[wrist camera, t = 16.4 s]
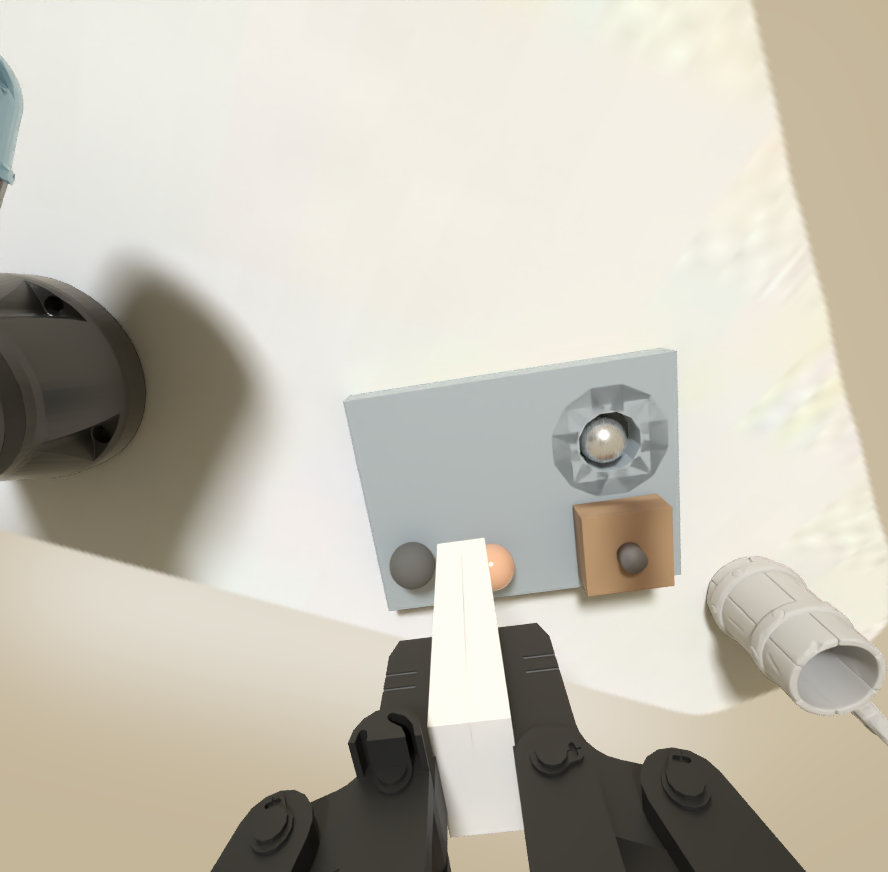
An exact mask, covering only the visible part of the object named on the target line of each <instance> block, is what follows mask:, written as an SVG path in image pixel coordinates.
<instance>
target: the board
mask: <svg viewBox="0 0 888 872" xmlns="http://www.w3.org/2000/svg"><path fill="white" fill-rule="evenodd" d="M343 403H344V407H345V412H346V417H347V421H348V426H349V430H350V435H351V439H352V444H353V449H354V453H355V458H356V462H357V467H358V472H359V476H360V481H361V485H362V490H363V494H364V499H365V504H366V508H367V513H368V517H369V522H370V527H371V531H372V536H373V540H374V545H375V549H376V554H377V559H378V563H379V568H380V572H381V577H382V582H383V586H384V591H385V595H386V600H387V604H388V609H389V611H394V610H402V609H410V608H418V607H426V606H434V596H435V578H436V560H437V544H441V543H449V542H456V541H464V540H471V539H479V538H484V539H485V544H488V543H495V544H499V545H501V546H503V547H505V548H506V549H507V550H508V551H509V552H510V554H511V555H512V557H513V559H514V563H515V573H514V576H513V578H512V580H511V582H510V583H509V584H508V585H507V586H506V587H504V588H502V589H500V590H496V591H492V593H493V598H497V597H505V596H513V595H521V594H529V593H537V592H545V591H553V590H561V589H569V588H577V587H583V585H582V583H581V581H580V579H579V573H578V562H577V550H576V539H575V527H574V516H573V505H576V504H584V503H591V502H598V501H606V500H613V499H620V498H628V497H635V496H642V495H650V494H658V495H659V496H661V497H662V498H663V499H664V500H665V501H666V502H667V503H668V504H669V505H671V506H672V507H673V546H674V575H680V574H681V549H680V496H679V443H678V391H677V351H674V350H669V349H664V348H657V349H651V350H644V351H638V352H631V353H625V354H618V355H612V356H605V357H598V358H592V359H585V360H579V361H572V362H566V363H559V364H553V365H546V366H540V367H533V368H526V369H520V370H513V371H507V372H500V373H494V374H487V375H481V376H474V377H468V378H461V379H454V380H448V381H441V382H435V383H428V384H422V385H415V386H409V387H402V388H396V389H389V390H382V391H376V392H369V393H363V394H356V395H350V396H349V397H348V398H347V399H346V400H345V401H343ZM611 412H618V413H621V414H622V415H623V416H624V418H625V419H626V420H627V422H628V438H627V445H626V448H625V450H624V452H623V453H622V455H621V456H620V457H618V458H617V459H616V460H614V461H611V462H608V463H598V462H594V461H592V460H590V459H587V458H585V457H582V456H581V455H580V446H579V438H580V436H581V434H582V432H583V429H584V427H585V425H586V424H587V423H588V422H590V421H591V420H593V419H594V418H595V417H597V416H598V415H599V414H605V413H611ZM408 542H418V543H421V544H423V545H425V546H426V547H427V548H428V549H429V550H430V551H431V552H432V554H433V556H434V560H435V571H434V574H433V576H432V578H431V580H430V581H429V582H428V583H427V584H426V585H424V586H423V587H421V588H418V589H406V588H403V587H401V586H399V585H398V584H397V583H396V582H395V581H394V580H393V578H392V576H391V574H390V568H389V564H390V559H391V556H392V554H393V553H394V551H395V550H396V549H397V548H398V547H399V546H401V545H402V544H405V543H408Z"/></svg>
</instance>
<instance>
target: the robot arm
mask: <svg viewBox="0 0 888 872" xmlns="http://www.w3.org/2000/svg"><path fill="white" fill-rule="evenodd" d="M22 113H23V95H22V91H21V88H20V85H19V82H18V80H17V78H16V76H15V74H14V73H13V71H12V69H11V68H10V66H9V65H8V63H7V62H6V61H5V59H4V58H3V57H2V56H1V55H0V208H1V204H2V201H3V198H4V195H5V192H6V188H7V185H8V184H11V185H12V184H13V182H14V179H15V174H14V173H13V172H12V170H11V168H12V162H13V157H14V151H15V146H16V141H17V135H18V130H19V126H20V122H21V117H22ZM144 407H145V382H144V376H143V371H142V367H141V364H140V361H139V358H138V356H137V353H136V351H135V349H134V347H133V345H132V343H131V341H130V339H129V338H128V336H127V334H126V333H125V332H124V330H123V329H122V327H121V326H120V325H119V323H118V322H117V321H116V320H115V319H114V318H113V316H112V315H111V314H110V313H109V312H108V311H107V310H106V309H105V308H103V307H102V306H101V305H100V304H99V303H98V302H96V301H95V300H94V299H92V298H91V297H90V296H88V295H87V294H85V293H83V292H82V291H80V290H78V289H76V288H74V287H72V286H70V285H68V284H66V283H63V282H61V281H58V280H55V279H51V278H48V277H43V276H37V275H26V274H13V273H0V481H7V480H22V479H37V478H52V477H61V476H67V475H71V474H75V473H78V472H81V471H84V470H86V469H89V468H91V467H93V466H95V465H98V464H100V463H102V462H104V461H107V460H108V459H110V458H112V457H114V456H115V455H116V454H118V453H119V452H120V451H121V450H123V449H124V448H125V447H126V446H127V444H128V443H129V442H130V441H131V439H132V438H133V436H134V435H135V433H136V431H137V429H138V427H139V425H140V422H141V420H142V416H143V412H144ZM348 745H349V749H350V753H351V757H352V760H353V763H354V768H355V771H356V775H357V777H356V778H355V779H354V780H353V781H351V782H350V783H349V784H348V785H346V786H344V787H343V788H341V789H339V790H337V791H336V792H333V793H331V794H329V795H326V796H324V797H322V798H320V799H317V800H315V801H313V802H311V803H310V802H309V800H308V798H307V797H306V796H305V794H302V793H300V792H298V791H295V790H286V791H279V792H277V793H275V794H273V795H270V796H268V797H266V798H265V799H263V800H262V801H261V802H260V803H258V804H257V805H256V806H254V807H253V808H252V809H251V810H250V812H249V813H248V814H247V815H246V817H245V818H244V819H243V821H242V822H241V823H240V824H239V826H238V828H237V829H236V831H235V833H234V834H233V836H232V838H231V839H230V841H229V842H228V844H227V846H226V848H225V849H224V851H223V852H222V854H221V856H220V857H219V859H218V861H217V863H216V864H215V865H214V867H213V869H212V870H211V872H451V868H450V863H449V857H448V852H447V824H448V829H449V833H450V837H459V836H469V835H480V834H489V833H499V832H510V831H521V830H524V832H525V839H526V846H527V853H528V861H529V868H530V872H806V871H805V870H804V869H803V868H802V867H801V865H800V864H799V863H798V862H797V861H796V859H795V858H794V857H793V856H792V855H791V854H790V853H789V851H788V850H787V849H786V848H785V847H784V845H783V844H782V843H781V842H780V841H779V840H778V838H777V837H775V835H774V834H773V833H772V832H771V830H770V829H769V828H768V827H767V826H766V825H765V823H764V822H763V821H762V820H761V819H760V817H759V816H758V815H757V814H756V813H755V812H754V810H753V809H752V808H751V807H750V806H749V805H748V804H747V802H746V801H745V800H744V799H743V798H742V797H741V795H740V794H739V793H738V792H737V791H736V789H735V788H734V787H733V786H732V785H731V784H730V783H729V781H728V780H727V779H726V778H725V777H724V775H722V773H721V772H720V771H719V770H718V769H717V768H715V767H714V766H713V765H712V764H711V763H710V762H709V761H708V760H706V759H704V758H703V757H701V756H699V755H697V754H695V753H693V752H691V751H688V750H682V749H677V748H666V749H659V750H656V751H655V752H653V753H652V754H651V755H649V756H647V757H646V760H645V761H644V763H643V764H638V763H633V762H628V761H624V760H619V759H616V758H613V757H609V756H606V755H605V754H603V753H601V752H599V751H598V750H596V749H595V748H593V747H592V746H591V745H590V744H589V743H588V742H586V740H585V739H584V738H583V736H582V735H581V734H580V732H579V730H578V728H577V726H576V723H575V720H574V716H573V713H572V710H571V706H570V703H569V700H568V697H567V694H566V690H565V687H564V683H563V680H562V677H561V673H560V670H559V667H558V663H557V660H556V657H555V654H554V650H553V647H552V643H551V640H550V637H549V635H548V634H547V633H546V632H545V631H544V630H543V629H542V628H541V627H540V626H539V625H538V624H537V623H532V624H524V625H515V626H507V627H499V628H498V627H497V620H496V613H495V606H494V599H493V593H492V586H491V579H490V572H489V566H488V559H487V552H486V545H485V539H484V538H479V539H471V540H464V541H456V542H449V543H441V544H437V560H436V578H435V596H434V615H433V633H432V637H429V638H421V639H412V640H404V641H399V643H398V644H397V646H396V647H395V649H394V650H393V652H392V653H391V655H390V656H389V661H388V666H387V672H386V678H385V683H384V692H383V695H382V701H381V707H380V710H379V711H376V712H374V713H372V714H371V715H369V716H368V717H366V718H364V719H363V720H362V721H361V722H360V724H359V725H358V726H357V727H356V728H355V730H353V733H352V735H351V737H350V740H349V742H348Z"/></svg>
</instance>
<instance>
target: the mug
mask: <svg viewBox="0 0 888 872" xmlns="http://www.w3.org/2000/svg"><path fill="white" fill-rule="evenodd" d="M712 580H713V581H710V584H709V589H708V595H707V604H708V607H709V609H710V611H711V613H712V616H713V618H714V620H715V621H716V624H717V625H718V627H719V628H720V629H721V630H722V631H723V632H724V633H725V634H726V635H727V636H728V637H730V638H732V639H733V640H735V641H736V642H738V643H740V644H741V646H742V647H743V648H744V649H745V650H746V651H747V652H748V653H749V654H750V655H751V656H752V659H753V661H754V663H755V664H756V666H757V667H758V668H759V669H760V671H761V672H762V673H763V674H764V675H765V676H766V677H767V678H768V679H770V680H771V681H773V682H774V683H776V684H778V685H779V686H780V687H781V688H782V689H783V690H784V691H785V692H786V694H787V695H788V696H789V697H790V698H791V699H792V700H793V701H794V702H795V703H796V704H797V705H798V706H800V707H801V708H802V709H804V710H805V711H807V712H810V713H813V714H817V715H823V716H832V715H833V716H834V713H836V714H839V715H840V714H846V713H849V712H851V713H852V714H853V715H854V716H855V717H857V718H858V719H859V720H860V721H861V722H862V723H863V724H864V725H865V726H866V727H867V728H868V729H869V730H870V731H871V732H872V733H874V734H875V735H877V736H878V737H880V739H882V740H883V742H885V743H886V744H887V745H888V719H887V718H886V717H885V716H884V715H883V714H882V713H881V712H880V711H879V710H878V709H877V707H876V706H875V705H874V704H873V703H872V702H871V701H870V700H871V699H872V697H873V696H874V695H875V694H876V693H877V690H880V689H881V686H882V685H883V682H884V678H885V674H886V662H885V659H884V657H883V655H882V654H881V653H880V651H879V650H878V649H877V648H876V647H875V646H874V645H873V644H872V643H871V642H869V641H868V640H867V639H866V638H865V637H864V636H862V635H861V634H860V633H859V632H858V631H857V630H855V629H854V627H853V625H852V623H851V622H850V620H849V619H848V618H847V617H846V616H845V615H843V614H842V613H841V612H840V611H838V610H837V609H836V608H834V607H833V606H832V605H831V604H829V603H827V602H824V601H822V600H820V599H819V598H818V597H817V596H816V595H815V594H813V593H812V592H811V591H810V590H809V589H808V588H807V586H806V584H805V582H804V581H803V579H802V578H801V577H800V576H799V575H798V574H797V573H795V572H794V571H793V570H791V569H790V568H789V567H787V566H785V565H783V564H780V563H777V562H774V561H772V560H770V559H768V558H764V557H759V556H754V557H750V558H749V559H747V558H746V557H743V558H739V559H736V560H734V561H732V562H730V563H728V564H727V565H725V566H723V567H722V568H721V569H720V570H719V571H718V572H717V573H716V574H715V575H714V577H713V578H712Z"/></svg>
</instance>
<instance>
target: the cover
mask: <svg viewBox="0 0 888 872" xmlns="http://www.w3.org/2000/svg"><path fill="white" fill-rule="evenodd" d="M573 516H574V527H575V539H576V550H577V562H578V573H579V579H580V581H581V583H582V585H583V587H584V589H585V591H586V594H587V596H596V595H604V594H612V593H620V592H628V591H636V590H644V589H652V588H660V587H668V586H674V546H673V507H672V506H671V505H669V504H668V503H667V502H666V501H665V500H664V499H663V498H662V497H661V496H659V495H658V494H650V495H642V496H635V497H628V498H620V499H613V500H606V501H598V502H591V503H584V504H576V505H573Z"/></svg>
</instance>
